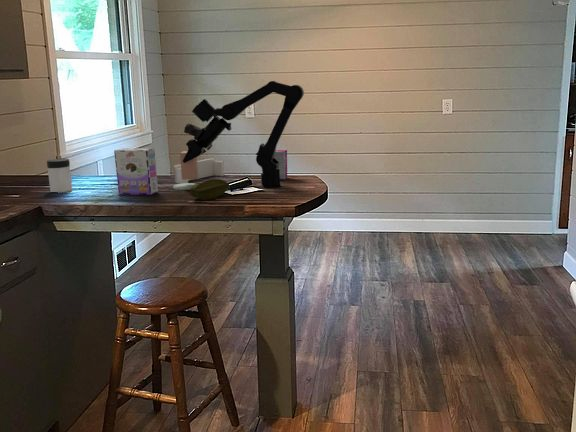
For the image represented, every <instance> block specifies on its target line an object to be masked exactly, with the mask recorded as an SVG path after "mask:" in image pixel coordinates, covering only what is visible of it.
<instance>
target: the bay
mask: <svg viewBox="0 0 576 432" xmlns="http://www.w3.org/2000/svg"><path fill="white" fill-rule="evenodd" d="M224 166H225V165H224V161H221V160H215V158H214V157H212V158H207V159H202V160H197V168H198V178H196V179H184V180H182V175H181V163H180V164H175V165H173V171H174V183H175V184H182V183H189V181H192V180H193V181H194V180H198V179H203V178H206V177H211V176H217V177H218V176H220V177H224V176H225V167H224Z"/></svg>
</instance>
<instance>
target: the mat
mask: <svg viewBox="0 0 576 432" xmlns="http://www.w3.org/2000/svg"><path fill="white" fill-rule="evenodd" d="M195 184H196V183H194V182H188V183H182V184H180V183H175V184H174V185H173V186H172V187H173V188H172V189H174V190H176V191H186V190H189V191H190V188H191V187H192V186H193V185H195Z"/></svg>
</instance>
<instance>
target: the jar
mask: <svg viewBox="0 0 576 432" xmlns="http://www.w3.org/2000/svg"><path fill="white" fill-rule="evenodd" d="M70 165H71V164H70V158H53V159H48V160H46V167H47V171H48V172H47V173H48V182H49V190H50V193H51V192H58V193H59V194H61V193H62V192H63V193H67V192H72V191H73V185H72V183H73V182H72V181H73V180H72V173H71V169H70V167H71V166H70ZM58 193H57V194H58ZM63 193H62V194H63Z"/></svg>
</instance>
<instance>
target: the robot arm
mask: <svg viewBox="0 0 576 432" xmlns="http://www.w3.org/2000/svg"><path fill="white" fill-rule="evenodd" d="M273 93H275V94H277V95H280V96H283V97H284V102H283V106H282V109H281V111H280V113H279V115H278V118H277V120H276V121H275V124H274V125H273V128H272V130H271V133H270V135H269V137H268V139H267V141H266V143H264V142H262V143H260V145H259V146H258V150H257V152H256V153H255V156H256V158H255V161H256V164H257V165H258V166H260V168H261V171H262V172H261V173H260V185H261V186H262V187H263V189H264V188H265V189H266V188H280V187H282V185H281V180H280V170H279V169H277V168H278V167H279V164H280V163H279V162H278V161H277V160H276V159H275V158H274V155H275V151H276V150H277V146H278V144H279V141H280V140H281V137H282V134H283V133H284V130H285V128H286V127H287V124H288V122H289V120H290V118H291V115H292V113H293V111H294V110H295V108H296V107H297V106H298V104H299V103H300V102H301V100H302V99H303V97H304V94H305V91H304V88H303V87H302V86H300V85H298V84H293V85H289V84H285V83H282V82H278V81H275V80H271V81H269V82H267V83H266V84H264V85H262V86H261V87H259V88H258V89H256V90H254V91H253V92H252V93H249V94H248V95H246V96H244V97H243V98H241V99H238V100H234V101H232V102H230V103H226V104H224V105H223V106H222V107H220V108H219V107H217V108H215V107H213V105H212V104H211V103H209V101H208V99H206V98H205V99H202V101H200V102H199V103H198V104H196V105H195V107H194V108H193V109H192V110H191V112H192V114H193V115H195V116H196V117H197V118H198V119H199V121H201V122H202V123H204V122H206V123H208V122H209V123H208V124H207V125H206V126H205V127H202V128H201V127H199V126H197V125H194V124H192V123H186V125H185V126H184V130H183V133H185V134H188V135H190V136H193V138H192V139H189V140H188V141H187V142H186V143H185V145H186V146H187V150H186V151H187V153H186V155H185V157H184V159H183V162H184V163H186V162H188V161H190V160H192V159H194V158H196V157H197V158H198V157H200V156H202V155H204V154H205V153H207V151H210V150H211V149H212V148H213V143H214V141H216V140H217V139H218V137H219V136H220V135H221V134H222V133H223V132H224V131H225V129H226V130H227V131H232V122H227V121H232V120H233V119H236V118H237V117H238V116H239V115H241V114H242V113H243V112H244V111H245V110H246V109H247V108H249V107H250V106H252V105H253V104H255V103H257V102H259V101H261V100H262V99H264V98H266V97H268V96H269V95H272V94H273ZM220 117H221V118H220Z"/></svg>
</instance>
